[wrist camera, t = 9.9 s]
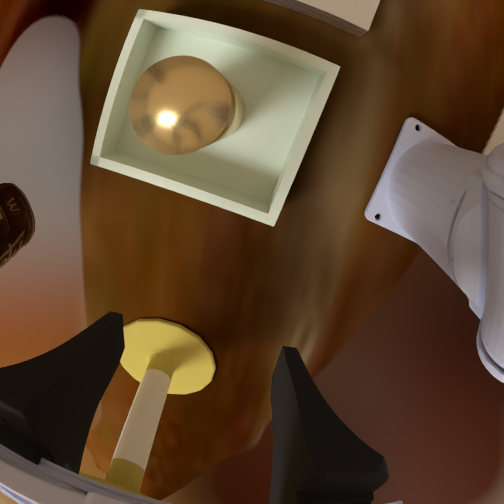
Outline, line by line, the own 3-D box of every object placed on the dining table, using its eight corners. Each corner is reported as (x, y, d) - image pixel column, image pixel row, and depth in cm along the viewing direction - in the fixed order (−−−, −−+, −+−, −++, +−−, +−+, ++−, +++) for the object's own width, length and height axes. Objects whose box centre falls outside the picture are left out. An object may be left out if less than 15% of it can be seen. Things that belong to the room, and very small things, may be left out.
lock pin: (253, 89, 17) (243, 69, 10) (232, 148, 19) (211, 167, 11) (192, 73, 17) (146, 47, 10) (174, 131, 18) (118, 141, 11)
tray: (329, 73, 17) (340, 66, 14) (272, 211, 21) (273, 226, 18) (154, 21, 16) (138, 9, 13) (110, 156, 20) (90, 163, 17)
